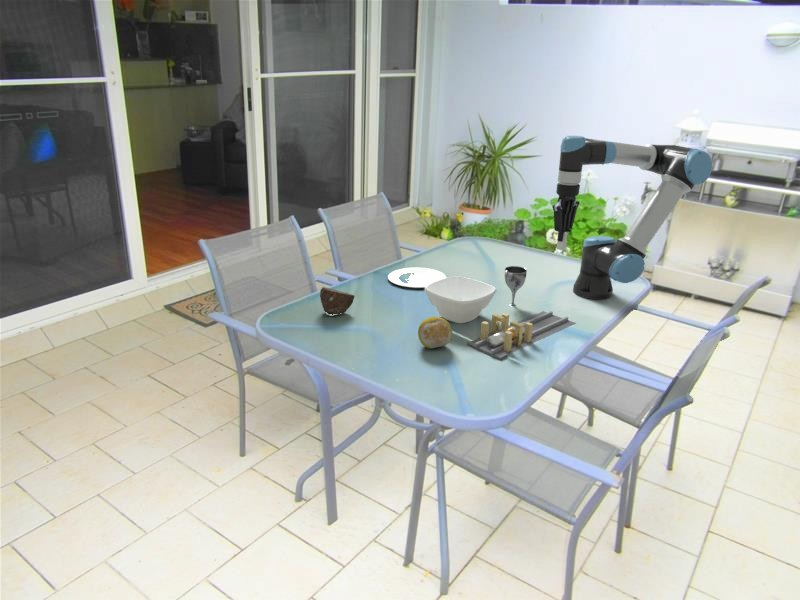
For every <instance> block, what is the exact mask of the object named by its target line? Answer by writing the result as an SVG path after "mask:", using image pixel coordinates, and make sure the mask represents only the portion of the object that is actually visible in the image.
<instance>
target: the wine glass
mask: <svg viewBox="0 0 800 600" xmlns="http://www.w3.org/2000/svg"><path fill="white" fill-rule="evenodd" d="M527 272H528V269H527V268H525V267H523V266H519V265H511V266H507V267H505V268H504V282H505V284H506V286H507V287H508V289H509V290H510V292H511V299H512V300H511V303H510V304H509V306H510V307H516V306H517V305H516V304H515V297H516V293H517V292H518V291H519V290H520V289H521V288H522V287H523V286H524V285H525V283H526V278H527Z"/></svg>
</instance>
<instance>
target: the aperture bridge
mask: <svg viewBox="0 0 800 600" xmlns="http://www.w3.org/2000/svg"><path fill="white" fill-rule="evenodd" d="M504 320H505V317H502V315H501V314H498V313H497V314H496V313H494V314H492V316H491V327H490V333H491V336H492V335H494V334H497V333H498V330H499V329H500V328H499V327H500V323H501V322H503V321H504ZM517 322H518V321H515V320H512V321H510V322H509V325H510V326H512V327H515V337H514V345H515V346H517V347H519V346H521V343H522V333H523V325H522V324H520V323H517Z"/></svg>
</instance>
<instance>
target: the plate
mask: <svg viewBox="0 0 800 600" xmlns="http://www.w3.org/2000/svg"><path fill="white" fill-rule="evenodd" d="M407 273H411V275H410V276H409V278H408V279H405V280H406V281H407V280H409V281H407V282H408V283H404V282H402V281H401V280H400V279H399V277H400V276H401V275H403V274H407ZM412 273H414V275H413V274H412ZM444 278H448V277H447V276H446V274H445V273H444V272H442V271H439V270H437V269H435V268H428V267H404V268H400V269H396V270H392V271H391V272H390V273H389V274H388V275H387V279H388V280H389V282H390V283H392V284H394V285H396V286H400V287H403V288H409V289H425V287H426V286H427V285H429V284H431V283H433V282H435V281H438V280H441V279H444Z"/></svg>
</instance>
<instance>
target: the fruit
mask: <svg viewBox="0 0 800 600" xmlns="http://www.w3.org/2000/svg"><path fill="white" fill-rule="evenodd" d="M417 330H418V331H417V336H418V339H419V342H420V343H421V344H422V346H424V347H425V348H427V349H435V348H440V347H444V346H446V345H448V344H449V342H450V341H451V339H452V337H453V330H452V327H451V325H450V323H449V322H448V320H447V319H445V318H443V317H441V316H440V317H439V316H431V317H427V318H425V319H424V320H422V321H421V322H420V324H419V326H418V329H417Z"/></svg>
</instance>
